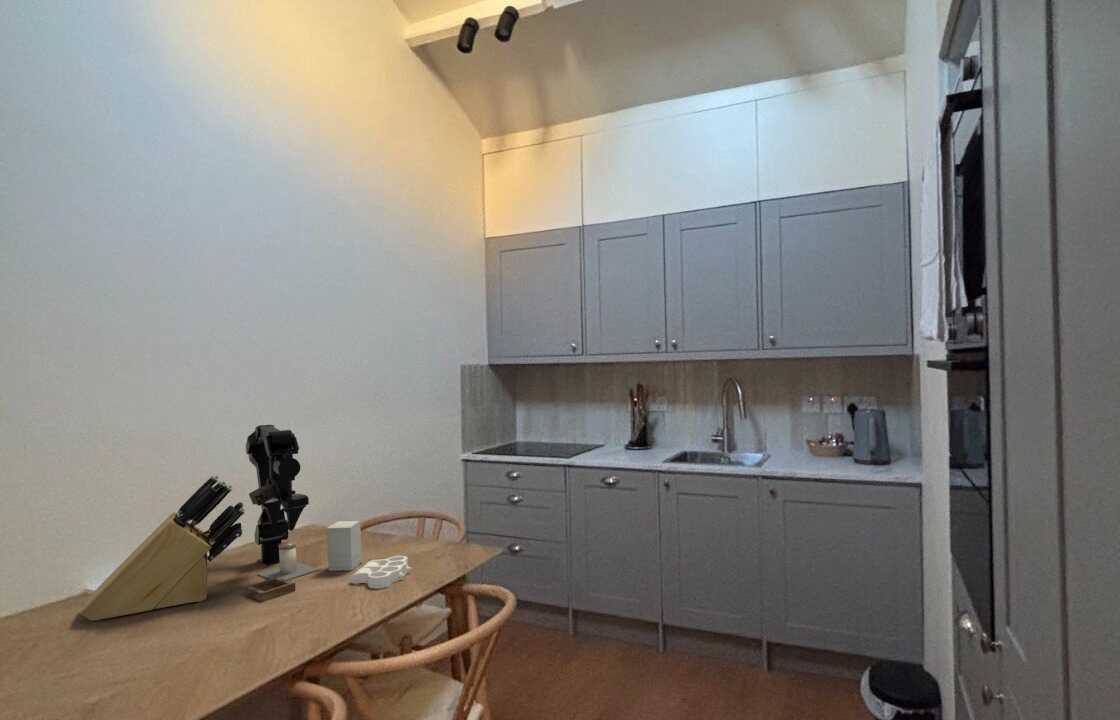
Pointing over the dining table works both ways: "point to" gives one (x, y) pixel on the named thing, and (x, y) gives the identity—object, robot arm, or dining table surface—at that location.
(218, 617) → the dining table surface
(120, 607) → the knife block
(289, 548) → the jar
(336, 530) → the supplement box
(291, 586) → the pocket frame
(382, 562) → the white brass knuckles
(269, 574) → the mat
